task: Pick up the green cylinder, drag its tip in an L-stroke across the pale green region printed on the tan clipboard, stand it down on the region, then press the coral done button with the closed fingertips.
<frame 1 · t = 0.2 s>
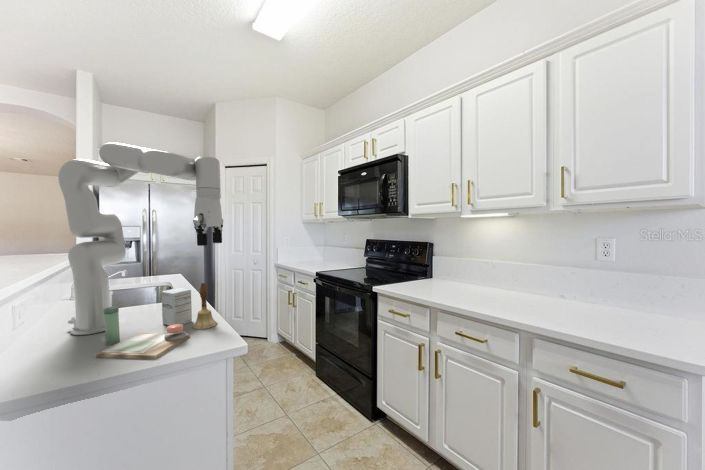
hand: (210, 244, 105), 31 cm above the countertop, fingers open, 9 cm apart
done button: (174, 328, 99), point 4 cm above the countertop, slide at 0.0 cm
supplement box: (177, 323, 116), on the countertop
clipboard: (146, 346, 95), on the countertop
hand bell: (205, 326, 113), on the countertop
green cylinder: (112, 342, 98), on the countertop
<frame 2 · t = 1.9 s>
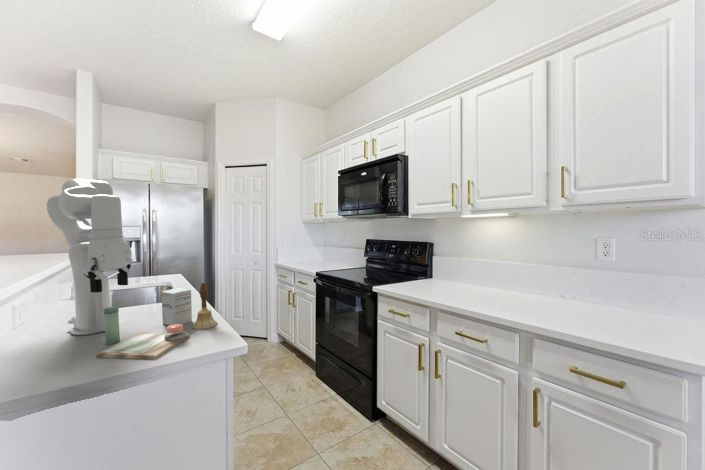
hand: (110, 288, 97), 18 cm above the countertop, fingers open, 9 cm apart
nothing on the countertop moved.
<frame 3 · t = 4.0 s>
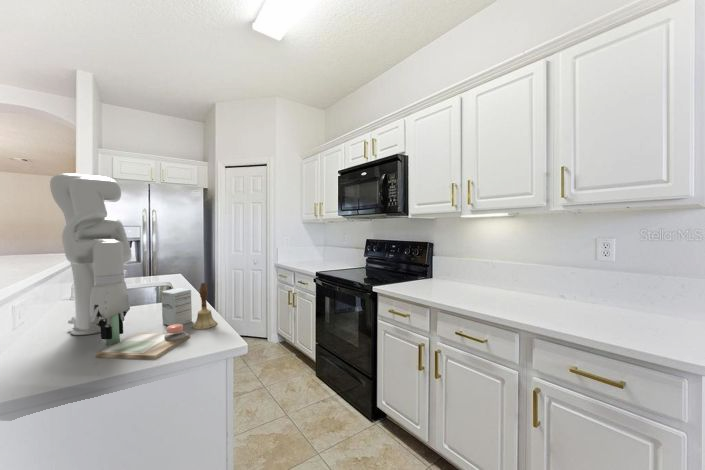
hand: (112, 335, 98), 2 cm above the countertop, fingers closed on green cylinder, 3 cm apart
green cylinder: (112, 342, 98), on the countertop, touching gripper
everything else where it was.
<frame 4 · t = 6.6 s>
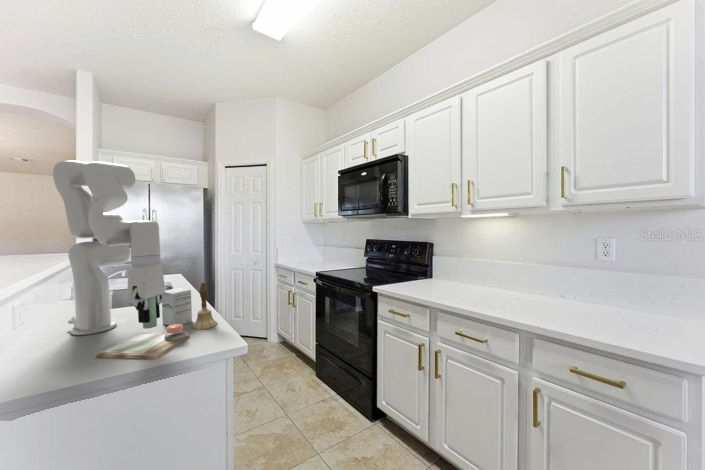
hand: (149, 319, 94), 9 cm above the countertop, fingers closed on green cylinder, 3 cm apart
green cylinder: (150, 326, 94), point 6 cm above the countertop, touching gripper
everything else where it was.
when the fingers open (4 cm above the countertop, at t = 9.6 s): green cylinder stays where it is, resting on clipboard.
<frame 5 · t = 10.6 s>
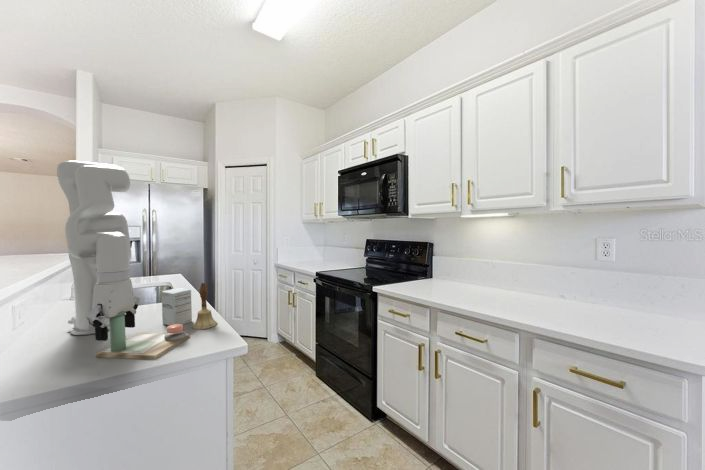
hand: (116, 333, 90), 6 cm above the countertop, fingers open, 9 cm apart
green cylinder: (118, 349, 90), point 1 cm above the countertop, touching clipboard
everything else where it was.
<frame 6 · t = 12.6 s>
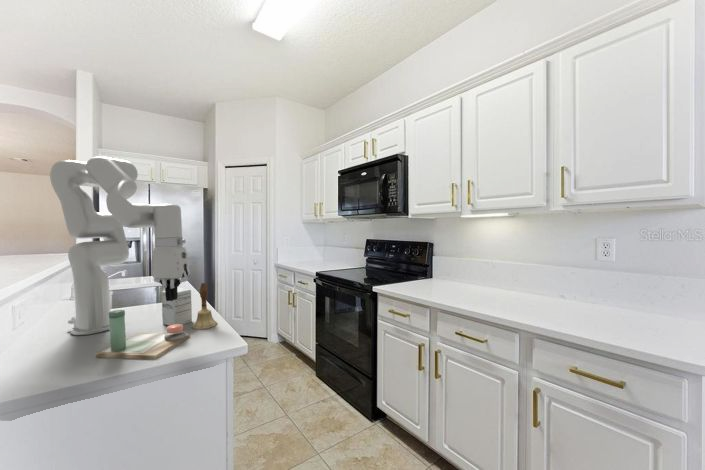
hand: (171, 299, 98), 14 cm above the countertop, fingers closed
nothing on the countertop moved.
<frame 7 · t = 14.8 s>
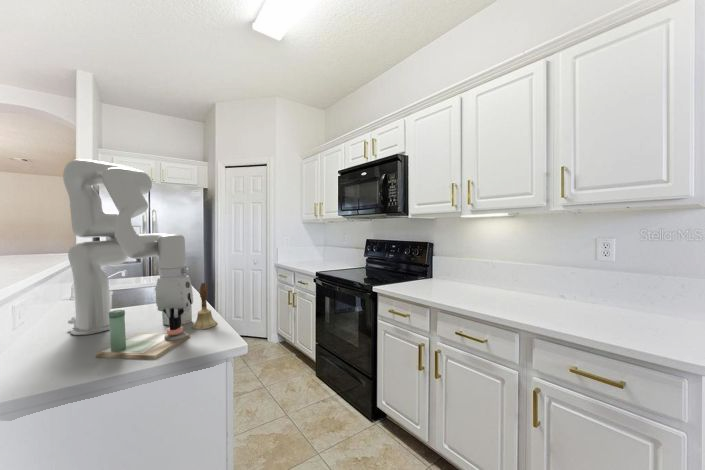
hand: (175, 328, 99), 4 cm above the countertop, fingers closed
done button: (175, 330, 99), point 3 cm above the countertop, slide at -0.6 cm, touching gripper
everything else where it was.
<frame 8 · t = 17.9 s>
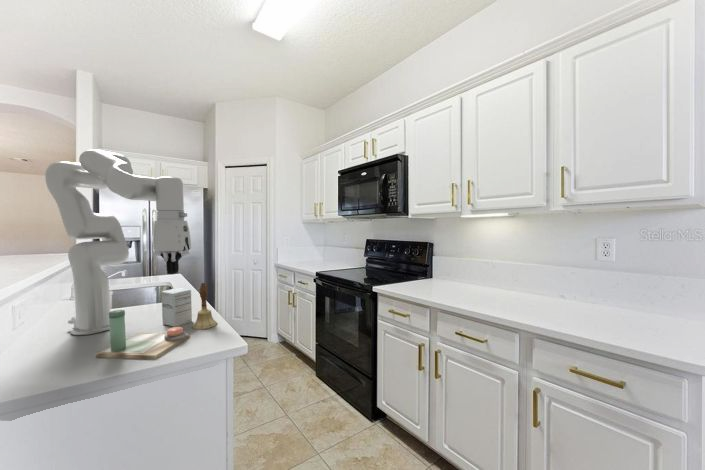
hand: (172, 273, 98), 22 cm above the countertop, fingers closed
done button: (175, 331, 99), point 3 cm above the countertop, slide at -1.0 cm
everything else where it was.
at the end: done button slide at -1.0 cm; green cylinder inside the target area (4.1 cm from its centre), point 1.2 cm above the countertop; the gripper is holding nothing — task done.
